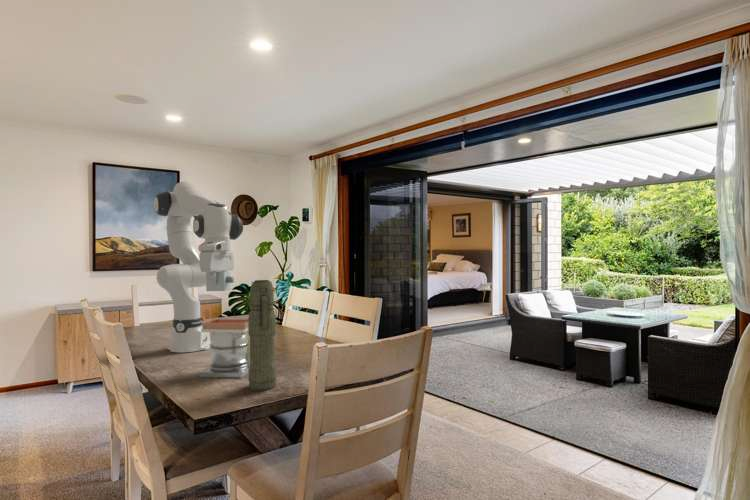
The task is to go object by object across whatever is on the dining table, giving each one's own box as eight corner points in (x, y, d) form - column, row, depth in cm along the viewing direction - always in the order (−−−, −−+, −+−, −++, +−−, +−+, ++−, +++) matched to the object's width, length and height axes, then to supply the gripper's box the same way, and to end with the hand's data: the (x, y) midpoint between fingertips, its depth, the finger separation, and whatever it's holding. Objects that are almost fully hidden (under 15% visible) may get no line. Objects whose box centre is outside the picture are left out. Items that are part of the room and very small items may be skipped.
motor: (219, 365, 175) (218, 317, 175) (258, 365, 173) (258, 318, 173) (198, 376, 159) (198, 324, 159) (241, 377, 157) (241, 325, 157)
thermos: (254, 393, 140) (253, 282, 140) (244, 384, 150) (243, 280, 150) (281, 389, 144) (280, 281, 144) (270, 380, 154) (269, 279, 154)
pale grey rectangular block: (212, 290, 169) (212, 271, 169) (235, 289, 168) (235, 271, 168) (206, 291, 164) (205, 272, 164) (229, 290, 163) (229, 271, 163)
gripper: (222, 247, 177) (223, 282, 177) (195, 246, 157) (196, 285, 156) (237, 246, 176) (238, 281, 176) (212, 245, 156) (213, 285, 156)
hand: (218, 283), depth 166 cm, fingers closed on pale grey rectangular block, 5 cm apart
